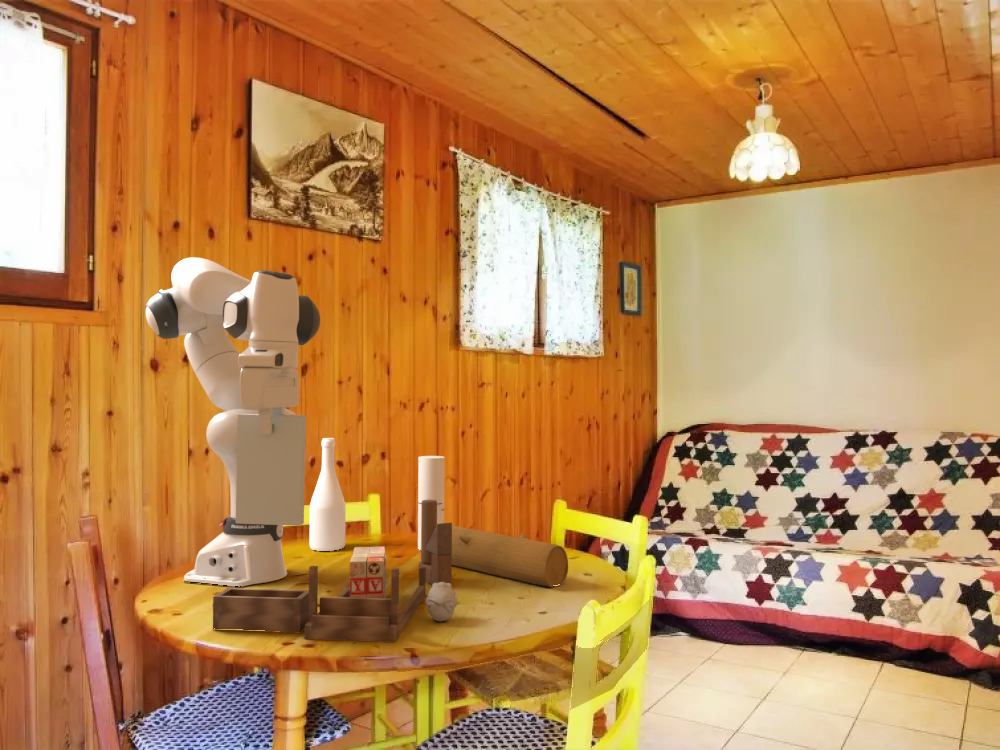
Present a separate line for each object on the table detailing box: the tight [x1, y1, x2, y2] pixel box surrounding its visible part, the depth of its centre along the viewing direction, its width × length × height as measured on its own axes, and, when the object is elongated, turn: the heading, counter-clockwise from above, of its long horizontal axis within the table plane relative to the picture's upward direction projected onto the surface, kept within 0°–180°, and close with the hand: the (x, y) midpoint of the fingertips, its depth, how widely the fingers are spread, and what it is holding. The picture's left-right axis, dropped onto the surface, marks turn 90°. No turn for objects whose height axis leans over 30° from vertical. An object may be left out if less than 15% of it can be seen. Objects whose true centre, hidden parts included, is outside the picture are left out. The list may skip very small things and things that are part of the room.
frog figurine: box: [424, 582, 458, 622], centre depth 145 cm, size 6×7×7 cm
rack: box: [304, 565, 427, 643], centre depth 148 cm, size 16×30×12 cm, turn 175°
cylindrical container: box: [417, 455, 446, 551], centre depth 209 cm, size 7×7×25 cm
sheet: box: [235, 414, 307, 527], centre depth 141 cm, size 12×2×20 cm, turn 86°
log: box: [451, 525, 569, 588], centre depth 182 cm, size 38×10×10 cm, turn 48°
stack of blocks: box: [349, 546, 387, 599], centre depth 152 cm, size 21×6×12 cm, turn 7°
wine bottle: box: [308, 437, 347, 552], centre depth 208 cm, size 10×10×30 cm
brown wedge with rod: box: [418, 500, 453, 586], centre depth 173 cm, size 4×11×18 cm, turn 29°
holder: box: [212, 587, 309, 633], centre depth 140 cm, size 16×6×6 cm, turn 85°
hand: (271, 433), depth 141 cm, fingers closed on sheet, 2 cm apart
